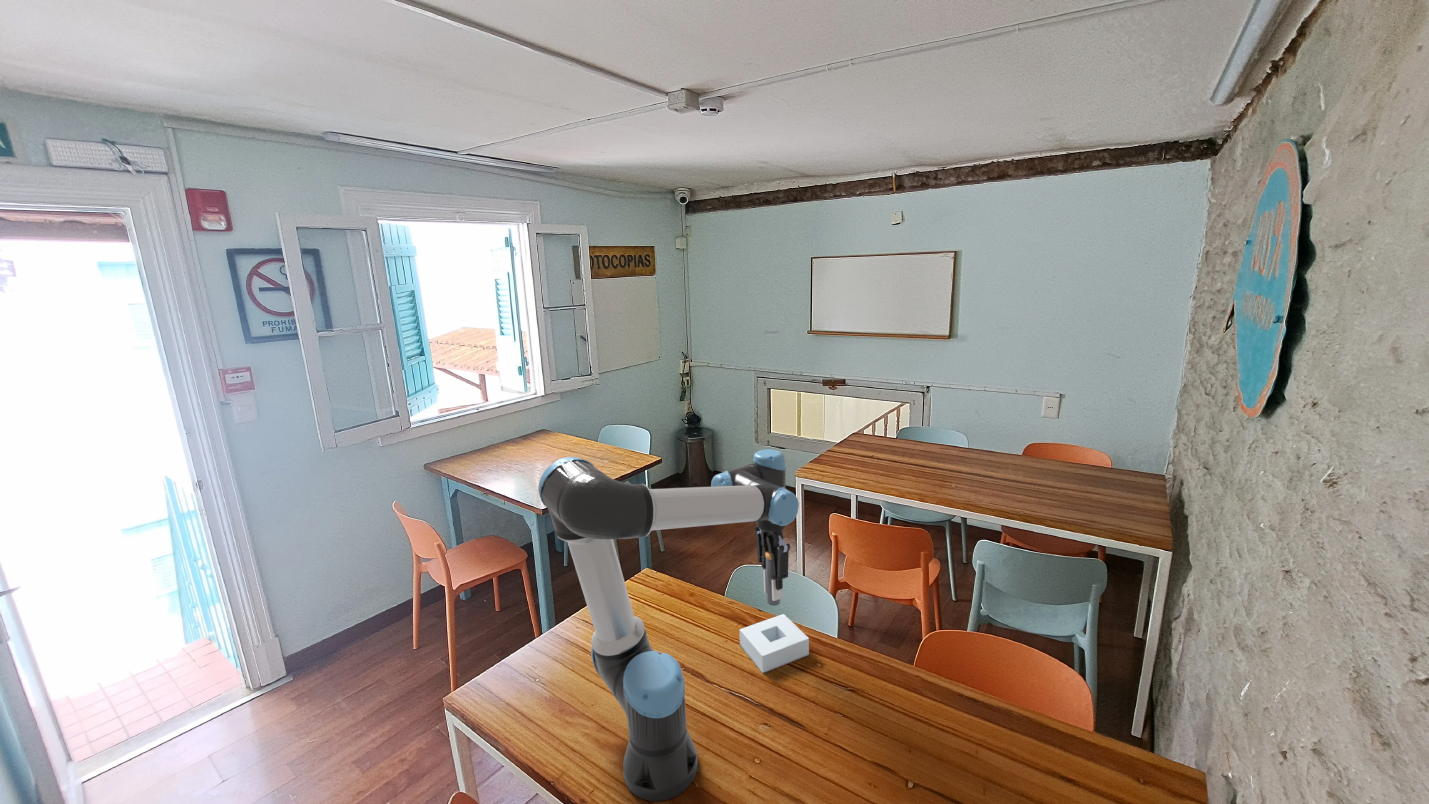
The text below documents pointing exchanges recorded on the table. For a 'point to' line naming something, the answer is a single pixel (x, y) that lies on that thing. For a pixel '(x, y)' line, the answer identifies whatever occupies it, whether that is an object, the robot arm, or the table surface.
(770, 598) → the marker
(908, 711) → the table surface
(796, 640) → the socket block
